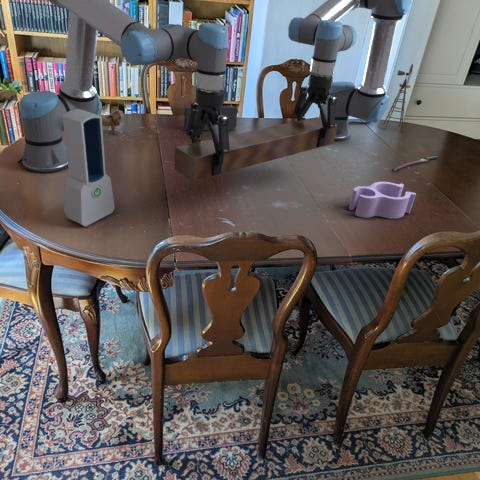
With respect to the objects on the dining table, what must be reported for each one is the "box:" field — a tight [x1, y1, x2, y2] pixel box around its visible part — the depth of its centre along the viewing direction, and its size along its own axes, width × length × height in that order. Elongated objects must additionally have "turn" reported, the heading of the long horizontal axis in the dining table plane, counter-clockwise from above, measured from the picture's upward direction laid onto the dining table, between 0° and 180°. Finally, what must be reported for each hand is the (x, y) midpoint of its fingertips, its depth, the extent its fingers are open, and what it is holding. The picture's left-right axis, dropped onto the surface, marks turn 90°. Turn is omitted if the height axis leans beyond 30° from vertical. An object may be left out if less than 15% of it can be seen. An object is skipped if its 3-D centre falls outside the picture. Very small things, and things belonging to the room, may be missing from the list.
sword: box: [393, 155, 441, 172], centre depth 190 cm, size 31×3×1 cm, turn 126°
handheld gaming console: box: [183, 105, 239, 131], centre depth 200 cm, size 23×3×10 cm, turn 108°
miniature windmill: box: [383, 63, 414, 132], centre depth 220 cm, size 9×8×30 cm
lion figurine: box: [102, 109, 125, 135], centre depth 186 cm, size 15×5×9 cm, turn 110°
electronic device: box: [63, 109, 116, 227], centre depth 126 cm, size 12×8×30 cm, turn 148°
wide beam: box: [174, 116, 337, 182], centre depth 146 cm, size 60×9×7 cm, turn 131°
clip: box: [348, 181, 417, 220], centre depth 152 cm, size 20×12×7 cm, turn 109°
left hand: (205, 167), depth 134 cm, fingers closed on wide beam, 9 cm apart
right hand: (309, 141), depth 160 cm, fingers closed on wide beam, 9 cm apart
